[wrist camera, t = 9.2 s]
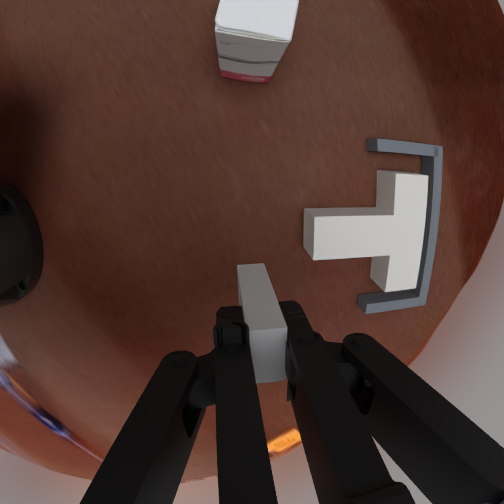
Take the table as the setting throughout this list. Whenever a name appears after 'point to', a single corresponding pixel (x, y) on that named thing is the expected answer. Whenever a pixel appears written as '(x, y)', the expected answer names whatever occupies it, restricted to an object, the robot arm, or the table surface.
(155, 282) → the table surface
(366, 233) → the t block
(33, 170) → the table surface
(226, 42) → the ink box
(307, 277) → the table surface
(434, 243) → the dock
